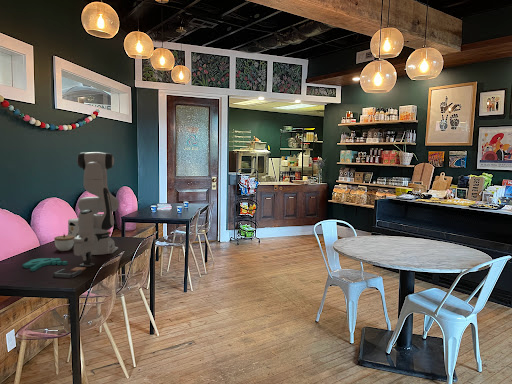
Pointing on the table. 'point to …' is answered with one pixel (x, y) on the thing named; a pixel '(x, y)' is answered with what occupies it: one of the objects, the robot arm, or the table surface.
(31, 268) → the teal pixel invader
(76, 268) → the tile
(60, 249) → the lidded bowl
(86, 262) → the stepped dark grey block
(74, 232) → the milk container
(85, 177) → the robot arm
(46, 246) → the table surface
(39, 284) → the table surface
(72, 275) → the bay
